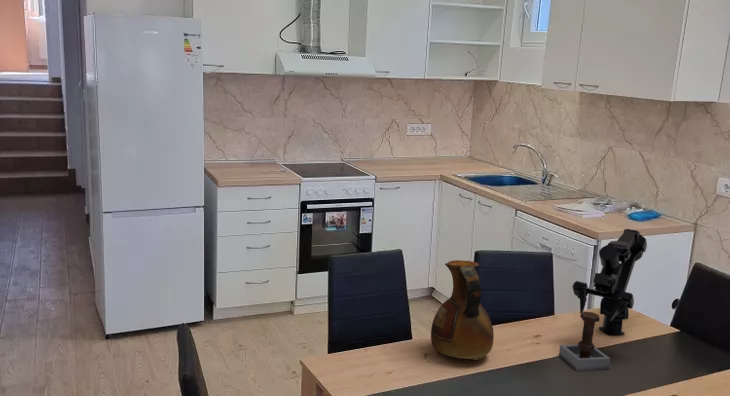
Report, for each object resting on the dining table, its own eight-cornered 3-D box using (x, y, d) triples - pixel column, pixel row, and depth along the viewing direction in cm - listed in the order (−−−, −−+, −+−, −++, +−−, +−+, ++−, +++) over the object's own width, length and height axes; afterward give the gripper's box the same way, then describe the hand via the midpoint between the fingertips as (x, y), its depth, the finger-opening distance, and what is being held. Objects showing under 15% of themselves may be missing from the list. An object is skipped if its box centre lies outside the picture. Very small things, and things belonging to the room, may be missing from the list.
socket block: (558, 355, 210) (560, 345, 210) (589, 353, 213) (590, 343, 212) (577, 370, 200) (578, 360, 199) (608, 369, 202) (610, 358, 202)
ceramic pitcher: (473, 338, 220) (481, 253, 214) (503, 364, 201) (513, 271, 195) (419, 343, 214) (426, 255, 208) (446, 370, 195) (454, 274, 189)
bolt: (595, 359, 207) (601, 314, 204) (591, 364, 203) (598, 319, 200) (577, 353, 210) (582, 310, 207) (573, 359, 206) (578, 314, 203)
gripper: (577, 257, 216) (562, 297, 209) (636, 269, 206) (623, 312, 199) (582, 274, 224) (567, 314, 217) (639, 287, 213) (626, 329, 207)
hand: (595, 316), depth 210 cm, fingers open, 9 cm apart
